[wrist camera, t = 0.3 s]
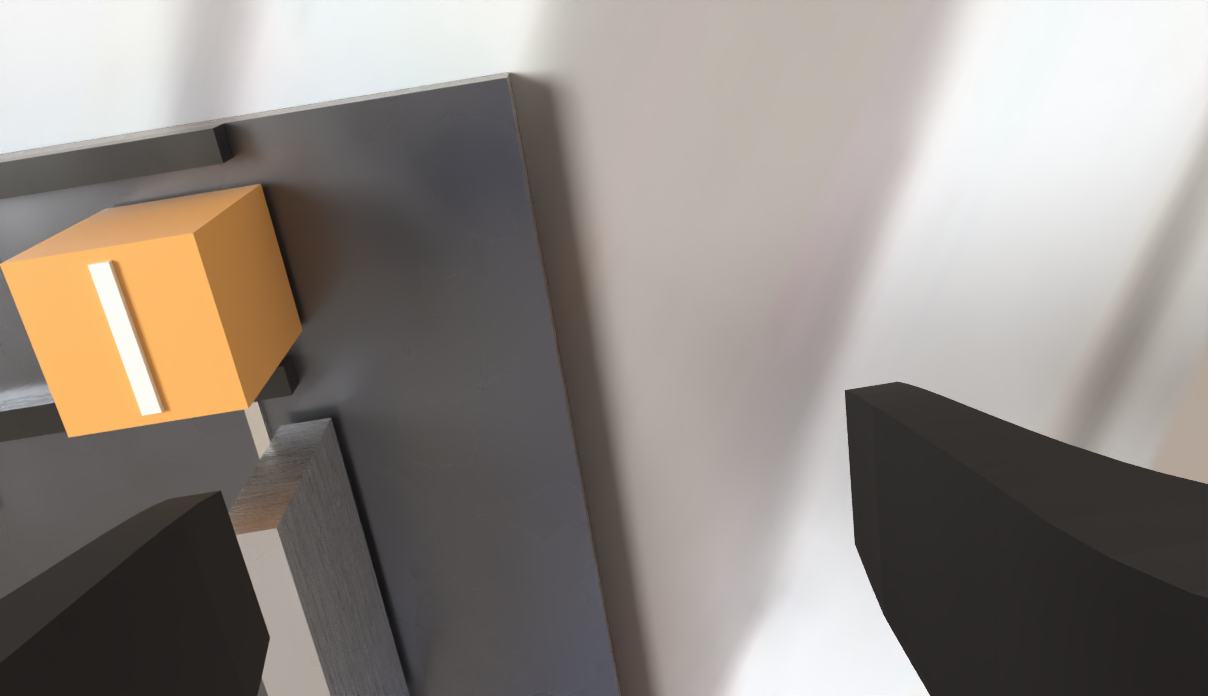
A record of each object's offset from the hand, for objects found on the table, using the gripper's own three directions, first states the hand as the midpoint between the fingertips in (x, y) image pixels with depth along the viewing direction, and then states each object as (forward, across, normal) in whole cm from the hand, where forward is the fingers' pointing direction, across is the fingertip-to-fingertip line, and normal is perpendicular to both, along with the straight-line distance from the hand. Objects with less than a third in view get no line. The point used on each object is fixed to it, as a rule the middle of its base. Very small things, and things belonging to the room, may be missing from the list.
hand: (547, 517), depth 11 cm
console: (+9, +8, +4) cm, 12 cm away
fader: (+8, +6, -2) cm, 10 cm away
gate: (+8, +5, +5) cm, 10 cm away
